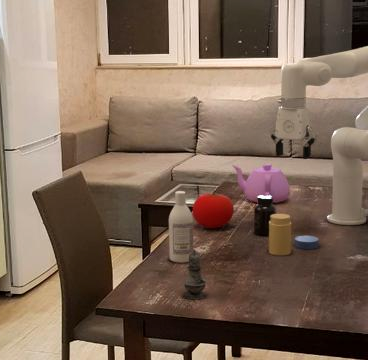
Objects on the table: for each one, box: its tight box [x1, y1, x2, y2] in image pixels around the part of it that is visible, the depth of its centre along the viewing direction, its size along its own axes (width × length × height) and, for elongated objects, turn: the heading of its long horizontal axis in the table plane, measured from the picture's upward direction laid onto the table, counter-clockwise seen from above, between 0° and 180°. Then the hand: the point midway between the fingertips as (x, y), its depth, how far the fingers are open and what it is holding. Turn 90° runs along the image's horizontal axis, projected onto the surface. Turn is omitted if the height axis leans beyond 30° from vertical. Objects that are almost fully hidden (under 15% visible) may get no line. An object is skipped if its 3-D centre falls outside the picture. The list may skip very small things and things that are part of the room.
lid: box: [294, 235, 320, 250], centre depth 224 cm, size 7×7×2 cm
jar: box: [268, 213, 292, 256], centre depth 218 cm, size 6×6×11 cm
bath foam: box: [168, 190, 194, 264], centre depth 213 cm, size 7×7×20 cm
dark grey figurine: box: [182, 248, 207, 300], centre depth 185 cm, size 6×6×12 cm
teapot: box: [231, 163, 291, 204], centre depth 282 cm, size 22×22×14 cm
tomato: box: [192, 192, 235, 230], centre depth 247 cm, size 13×14×12 cm
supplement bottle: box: [253, 196, 277, 237], centre depth 237 cm, size 7×7×12 cm
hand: (292, 156), depth 237 cm, fingers open, 9 cm apart
